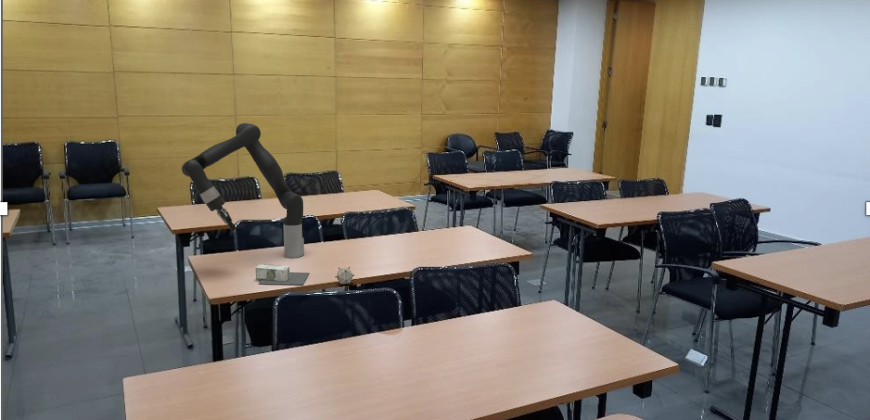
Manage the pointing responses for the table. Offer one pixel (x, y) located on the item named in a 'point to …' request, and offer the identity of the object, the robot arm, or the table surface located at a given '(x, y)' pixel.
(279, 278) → the syrup box
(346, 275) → the spiked polyhedron ball
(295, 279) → the mat
